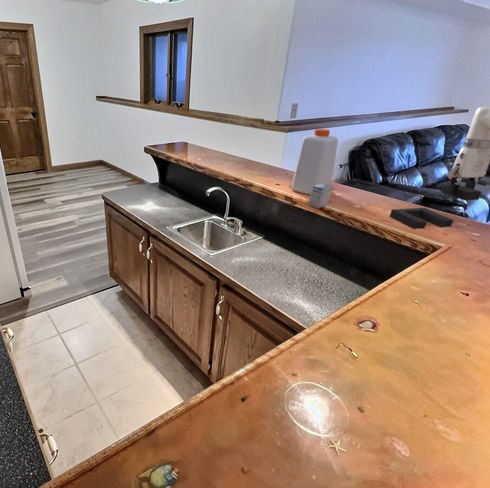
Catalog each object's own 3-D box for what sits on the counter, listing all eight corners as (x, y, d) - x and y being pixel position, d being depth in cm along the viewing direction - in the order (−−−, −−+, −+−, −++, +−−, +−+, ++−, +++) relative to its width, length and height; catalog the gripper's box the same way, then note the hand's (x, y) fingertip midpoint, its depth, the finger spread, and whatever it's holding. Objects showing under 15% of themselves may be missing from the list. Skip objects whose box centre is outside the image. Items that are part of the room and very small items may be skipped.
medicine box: (318, 201, 152) (322, 182, 148) (328, 204, 149) (332, 185, 145) (308, 205, 148) (313, 185, 144) (318, 208, 144) (323, 188, 141)
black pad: (453, 191, 135) (456, 184, 134) (478, 199, 126) (481, 191, 125) (440, 192, 134) (442, 184, 133) (464, 200, 125) (467, 192, 124)
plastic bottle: (333, 191, 166) (347, 130, 153) (317, 198, 157) (331, 133, 144) (303, 184, 176) (314, 126, 163) (287, 190, 167) (298, 129, 154)
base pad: (421, 214, 139) (424, 207, 138) (450, 227, 128) (453, 220, 127) (389, 216, 137) (391, 209, 136) (415, 229, 126) (418, 222, 124)
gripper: (466, 146, 118) (448, 198, 125) (509, 145, 120) (488, 195, 128) (447, 143, 124) (430, 192, 132) (488, 141, 127) (469, 189, 135)
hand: (459, 193), depth 130 cm, fingers closed on black pad, 6 cm apart
